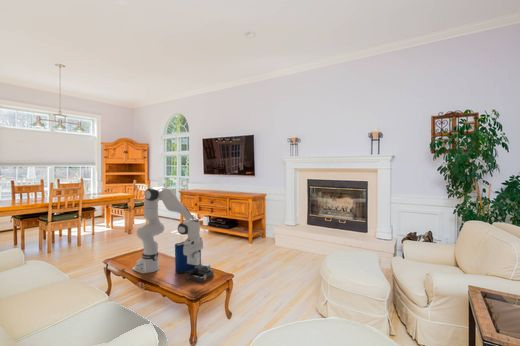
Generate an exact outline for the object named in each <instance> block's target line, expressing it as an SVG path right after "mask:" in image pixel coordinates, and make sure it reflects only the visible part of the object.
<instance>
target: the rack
mask: <svg viewBox="0 0 520 346" xmlns="http://www.w3.org/2000/svg"><path fill="white" fill-rule="evenodd" d="M214 272H215V271H214V270H213V269H211V264H209V263H204V262H203V263H202V262H201V263H200V264H199V265H198V269H197V270H195V271H191V273H189V274H188V275H187V281H191V282H195V283H199V284H203V283H205V282H206V281H207V280H209V279H210V278H212V277H214V274H215V273H214ZM211 276H212V277H211Z"/></svg>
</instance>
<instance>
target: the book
mask: <svg viewBox="0 0 520 346" xmlns="http://www.w3.org/2000/svg"><path fill="white" fill-rule="evenodd" d="M183 242H184V241H181V242H178V243H175V244H174V258H175V259H174V263H175V264H174V265H175V267H174V269H175V273H176V274H178V275H180V274H182V273H184V274H185V273H190V272H191V273H192V272H194V271H196V270H197V269H198V265H192V264H187V256H186V255H184V254H183V247H184V244H183ZM201 251H202V249H201V250H199V251H198V252H200V263H202V252H201Z"/></svg>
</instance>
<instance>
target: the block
mask: <svg viewBox="0 0 520 346" xmlns="http://www.w3.org/2000/svg"><path fill="white" fill-rule="evenodd" d="M192 256H193V259H190V256H189V255H188V256H187V264H192V265H199V264H200V252H194V253H192Z"/></svg>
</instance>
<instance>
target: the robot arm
mask: <svg viewBox="0 0 520 346" xmlns="http://www.w3.org/2000/svg"><path fill="white" fill-rule="evenodd" d="M143 201H144V203H143V217H144V219H145V220H147V222H148V224H144V225H142V226H140V227H138V228H137V230H136V235H137V237H138V239H140V240H141V241H142V244H143V245H142V246H143V253H141V258H139V259H138V260H137V261H136V262H135V266H133V267H132V271H135V272H138V273H140V274H147V273H154V272H157V271H159V270H160V265H159V251H158V250H159V249H158V248H159V247H158V246H159V245H158V242H157V241H156V240H155V239H154V237H157V236H159V235H160V234H162V233H164V231H165V225H164V223H163V222H161V220H160V218H159V201H162V203H163V205H164V207H165V208H166V210H168V211H169V212H175V213H177V214H180V215H181V216H182V218H184V219H185V221H183V222H182V221H181V222H180V223H179V224H178V226H177V232H178V233H179V235H180V236H181V235H183V236H185V235H187V238H186V239H185V240H183V241H182V242H183V244H184V247H183V254H184V255H186V256H188V255H189V256H190V259H193V256H192V253H194V252H198V251H199V250H201V251H202V250H203V248H204V242H203V238H202V237H201V236H200V233H201V232H200V230H201V224H200V223H201V222H200V220H199V219H198V218H196V217H193V215H192V213H191V212H190V210H189V209H188V208H187V207H186V205H184V204H183V203H182V202H181V201H180V200H179V198H178V196H177V195H176V193H174V191H173V190H172V189H171V188H170V187H168V186H155V187H150V188H147V189H145V192H144V200H143Z"/></svg>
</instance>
